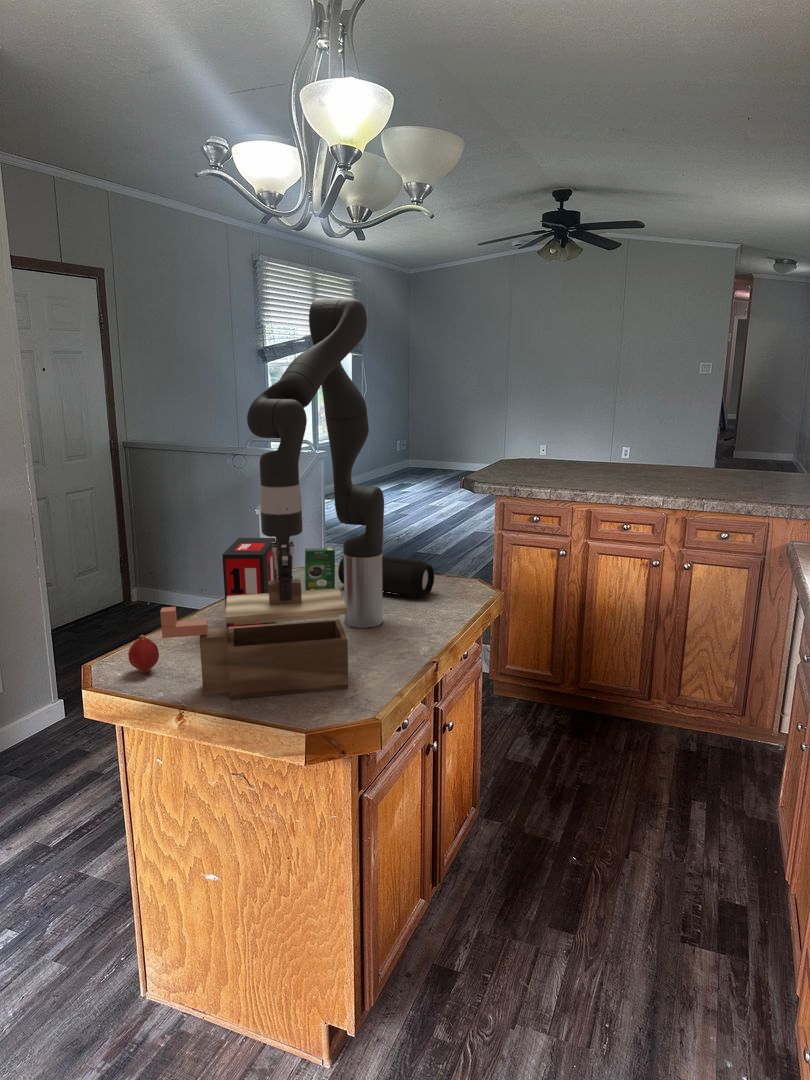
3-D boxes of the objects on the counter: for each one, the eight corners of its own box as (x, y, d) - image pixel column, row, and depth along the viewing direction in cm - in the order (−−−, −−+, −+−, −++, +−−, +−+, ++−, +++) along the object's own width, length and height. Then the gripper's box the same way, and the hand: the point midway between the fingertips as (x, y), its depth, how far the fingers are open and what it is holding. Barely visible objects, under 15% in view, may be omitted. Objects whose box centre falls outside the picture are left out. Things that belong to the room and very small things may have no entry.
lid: (227, 606, 143) (225, 576, 142) (338, 598, 148) (338, 569, 147) (226, 628, 131) (224, 595, 130) (347, 619, 136) (346, 587, 135)
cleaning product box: (242, 616, 181) (238, 537, 176) (278, 616, 181) (275, 537, 177) (227, 640, 165) (222, 554, 160) (266, 640, 165) (262, 554, 160)
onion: (130, 668, 149) (126, 631, 147) (159, 664, 151) (156, 628, 149) (130, 679, 144) (126, 641, 142) (160, 675, 146) (157, 637, 144)
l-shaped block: (163, 632, 137) (161, 607, 136) (207, 629, 139) (206, 604, 138) (162, 638, 134) (160, 612, 133) (207, 634, 136) (205, 609, 135)
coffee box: (334, 593, 200) (333, 546, 197) (336, 596, 197) (335, 549, 194) (305, 595, 198) (303, 548, 195) (306, 598, 196) (304, 550, 193)
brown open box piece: (205, 676, 145) (201, 623, 143) (340, 664, 151) (339, 613, 148) (202, 702, 134) (198, 645, 131) (348, 688, 139) (347, 633, 137)
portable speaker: (435, 593, 200) (435, 557, 198) (420, 603, 191) (420, 566, 189) (354, 582, 211) (353, 548, 209) (336, 591, 202) (335, 556, 200)
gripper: (304, 514, 129) (308, 607, 133) (298, 501, 142) (302, 585, 146) (261, 517, 128) (266, 610, 132) (259, 502, 141) (264, 588, 145)
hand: (285, 597), depth 139 cm, fingers closed on lid, 2 cm apart
